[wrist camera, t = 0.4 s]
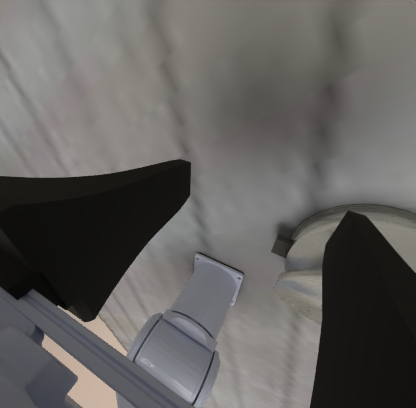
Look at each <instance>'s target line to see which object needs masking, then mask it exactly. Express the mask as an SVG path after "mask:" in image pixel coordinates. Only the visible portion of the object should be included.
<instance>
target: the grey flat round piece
mask: <svg viewBox="0 0 416 408" xmlns="http://www.w3.org/2000/svg"><path fill="white" fill-rule="evenodd" d="M348 210H349V211H352V212H356V213H359V214H362V215H366V216H367V217H368V218H369V220H370V221H371V222H372V223H373V224H374V225H375V226H376V228H377V229H378V230H379V231H380V232H381V234H382V235H383V236H384V237H385V238H386V240H387V241H388V242H389V243H390V244H391V246H392V247H393V248H394V249H395V250H396V251H397V253H398V254H399V255H400V256H401V257H402V258H403V260H404V261H405V262H406V263H407V264H408V265H409V266H410V267H411V268H412V270H413V271H414V272H415V273H416V214H414V213H411V212H408V211H405V210H402V209H397V208H393V207H388V206H381V205H368V204H360V205H347V206H340V207H335V208H331V209H328V210H325V211H322V212H319V213H317V214H315V215H313V216H311V217H310V218H308V219H306V220H305V221H304V222H303V223H301V224H300V225H299V226H298V228H297V229H296V230H295V232H294V233H293V235H292V237H291V239H290V238H287V237H285V236H282V235H279V234H278V236H277V238H276V240H275V243H274V245H273V248H272V251H271V252H273V253H275V254H278V255H280V256H283V257H285V258H286V263H285V271H286V270H290V269H298V268H315V269H322V263H323V256H324V250H325V245H326V243H327V241H328V240H329V238H330V237H331V235H332V234H333V232H334V231H335V229H336V228H337V226H338V225H339V223H340V222H341V220H342V219H343V217H344V216H345V214H346V213H347V211H348Z"/></svg>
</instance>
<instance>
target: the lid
mask: <svg viewBox="0 0 416 408" xmlns="http://www.w3.org/2000/svg"><path fill="white" fill-rule="evenodd" d="M275 292H276V294H277V295H278V296H279V298H280V299H281V300H282V301H284V302H285V303H286V304H287V305H289V306H290V307H291V308H293V309H294V310H296V311H297V312H299V313H300V314H302V315H304V316H305V317H307V318H309V319H311V320H313V321H315V322H316V323H318V324H320V325H322V269H315V268H298V269H290V270H286V271H284V272H282V273H281V274H279V276H278V279H277V282H276V285H275Z"/></svg>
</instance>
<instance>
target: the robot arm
mask: <svg viewBox="0 0 416 408" xmlns="http://www.w3.org/2000/svg"><path fill="white" fill-rule="evenodd" d="M190 177H191V162H188V161H185V160H181V159H179V160H172V161H167V162H163V163H159V164H154V165H150V166H146V167H142V168H137V169H132V170H127V171H123V172H117V173H111V174H103V175H95V176H82V177H67V178H26V177H6V176H0V408H82V407H81V406H80V405H79V404H77V403H76V402H75V401H74V400H73V399H71V398H70V397H69V396H68V395H67V393H68V392H69V391H70V389H71V388H72V387H73V386H74V384H75V383H76V382H77V380H78V377H77V376H76V375H75V374H74V373H73V372H72V371H71V370H70V369H69V368H67V367H66V366H65V365H64V364H63V363H61V362H60V361H59V360H58V359H57V358H55V357H54V356H53V355H52V354H50V353H49V352H48V351H47V350H45V349H44V348H43V347H42V341H43V339H44V333H45V334H46V335H47V336H48V337H49V338H51V339H52V340H53V341H54V342H56V343H57V344H58V345H59V346H61V347H62V348H63V349H64V350H65V351H67V352H68V353H69V354H70V355H72V356H73V357H74V358H75V359H77V360H78V361H79V362H80V363H81V364H83V365H84V366H85V367H86V368H87V369H89V370H90V371H91V372H92V373H94V374H95V375H96V376H97V377H98V378H100V379H101V380H102V381H103V382H105V383H106V384H107V385H108V386H109V387H111V388H112V389H113V390H114V391H116V397H117V404H118V408H203V407H204V405H205V403H206V401H207V399H208V397H209V395H210V393H211V390H212V388H213V385H214V382H215V380H216V377H217V373H218V370H219V366H220V359H219V353H218V352H217V351H216V350H215V347H216V345H217V341H215V340H216V338H217V336H218V333H219V331H220V328H221V326H222V323H223V321H224V318H225V316H226V314H227V311H228V309H229V306H230V305H231V306H234V304H235V301H236V298H237V295H238V292H239V289H240V286H241V283H242V280H243V277H244V275H243V274H242V273H241V272H238V271H236V270H234V269H232V268H230V267H228V266H225V265H223V264H221V263H219V262H217V261H214V260H212V259H210V258H208V257H206V256H204V255H201V254H199V253H196V254H195V264H194V272H193V274H192V275H191V277H190V279H189V280H188V282H187V283H186V285H185V286H184V288H183V289H182V291H181V293H180V294H179V296H178V297H177V299H176V300H175V302H174V304H173V305H172V307H171V308H170V310H169V309H167V310H166V312H165V313H164V315H163V314H162V313H158V314H155V315H153V316H152V317H151V318H150V319H149V320H148V321H147V322H146V323H145V325H144V326H143V328H142V329H141V330H140V332H139V333H138V335H137V336H136V338H135V340H134V341H133V343H132V345H131V347H130V349H129V351H128V353H127V356H126V357H125V356H124V355H123V354H121V353H120V352H119V351H117V350H116V349H114V348H113V347H112V346H110V345H109V344H108V343H106V342H105V341H103V340H102V339H101V338H99V337H98V336H97V335H95V334H94V333H93V332H91V331H90V330H88V329H87V328H86V327H84V326H83V325H82V324H80V323H79V322H77V321H76V320H75V319H73V318H72V317H71V316H69V315H68V314H67V313H65V312H64V311H62V310H61V309H60V308H58V307H57V306H58V305H59V306H60V307H62V308H63V309H65V310H68V311H70V312H71V313H72V314H74V315H75V316H77V317H78V318H79V319H81V320H82V321H84V322H89V321H92V320H94V319H95V318H96V316H97V315H98V313H99V311H100V310H101V308H102V307H103V305H104V304H105V302H106V300H107V299H108V297H109V296H110V294H111V292H112V291H113V289H114V288H115V287H116V285H117V284H118V282H119V281H120V279H121V278H122V276H123V275H124V273H125V272H126V271H127V269H128V268H129V267H130V265H131V264H132V263H133V261H134V260H135V258H136V257H137V256H138V255H139V253H140V252H141V251H142V249H143V248H144V247H145V246H146V244H147V243H148V242H149V241H150V240H151V239H152V238H153V236H154V235H155V234H156V233H157V232H158V231H159V230H160V229H161V228H162V227H163V226H164V225H165V224H166V223H167V222H168V221H169V220H170V219H171V218H172V217H173V216H174V215H175V214H176V213H177V212H178V211H179V210H180V209H181V207H182V206H183V205H184V203H185V202H186V200H187V199H188V198H189V196H190ZM310 408H416V273H415V272H414V271H413V270H412V268H411V267H410V266H409V265H408V264H407V263H406V262H405V261H404V260H403V258H402V257H401V256H400V255H399V254H398V253H397V251H396V250H395V249H394V248H393V247H392V246H391V244H390V243H389V242H388V241H387V240H386V238H385V237H384V236H383V235H382V234H381V232H380V231H379V230H378V229H377V228H376V226H375V225H374V224H373V223H372V222H371V221H370V220H369V218H368V217H367V216H366V215H362V214H359V213H356V212H352V211H349V210H348V211H347V213H346V214H345V216H344V217H343V219H342V220H341V222H340V223H339V225H338V226H337V228H336V229H335V231H334V232H333V234H332V235H331V237H330V238H329V240H328V241H327V243H326V245H325V250H324V256H323V263H322V326H321V335H320V343H319V352H318V359H317V366H316V373H315V380H314V386H313V392H312V398H311V404H310Z"/></svg>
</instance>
